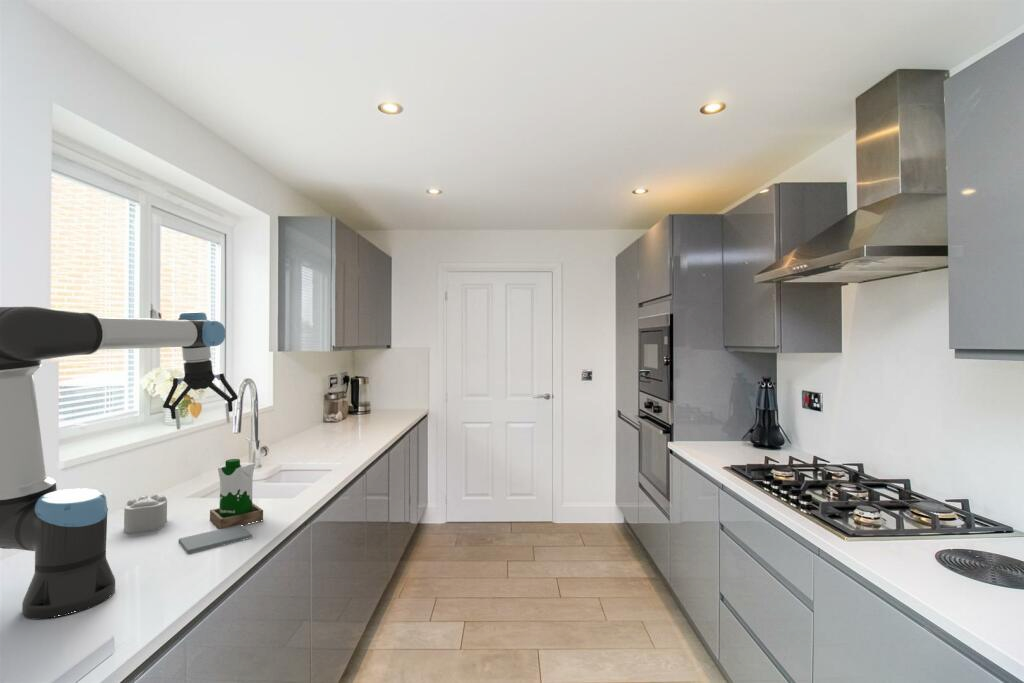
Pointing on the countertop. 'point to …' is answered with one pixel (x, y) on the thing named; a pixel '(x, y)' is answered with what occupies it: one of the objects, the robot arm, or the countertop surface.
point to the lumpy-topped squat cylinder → (145, 513)
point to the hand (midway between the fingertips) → (204, 425)
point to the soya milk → (235, 488)
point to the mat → (214, 538)
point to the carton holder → (236, 518)
